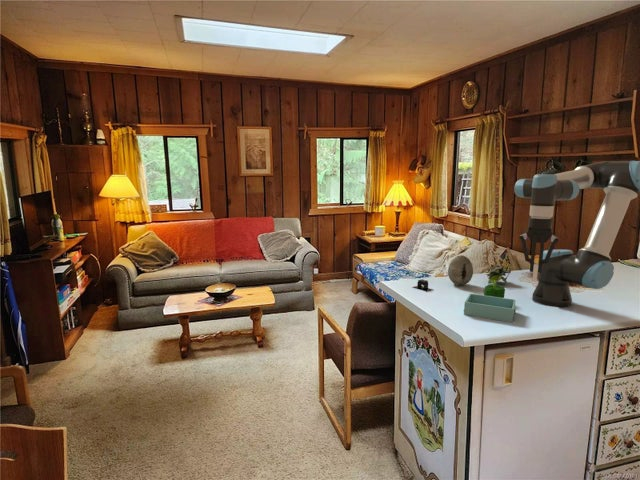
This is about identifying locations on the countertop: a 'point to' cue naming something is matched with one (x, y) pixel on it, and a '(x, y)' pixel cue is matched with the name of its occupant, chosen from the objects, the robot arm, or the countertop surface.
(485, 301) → the green planter box
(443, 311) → the countertop surface
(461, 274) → the decorative egg
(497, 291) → the bell pepper
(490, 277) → the green leafy plant
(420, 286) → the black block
